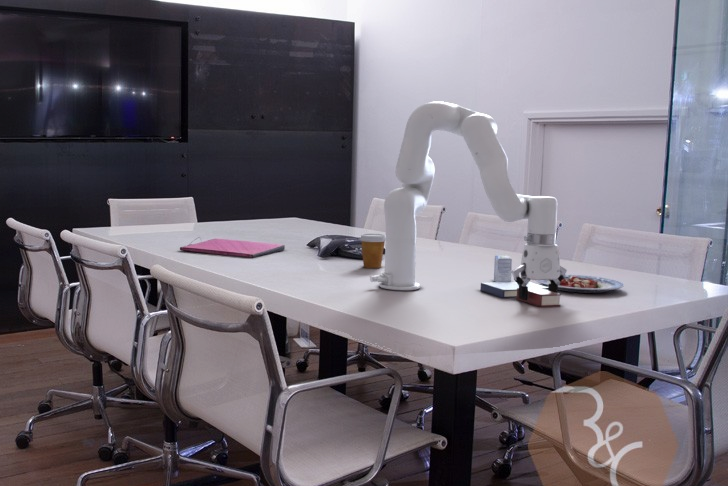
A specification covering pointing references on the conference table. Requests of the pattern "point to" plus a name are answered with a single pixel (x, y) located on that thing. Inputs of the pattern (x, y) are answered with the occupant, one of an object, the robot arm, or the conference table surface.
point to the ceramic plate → (585, 284)
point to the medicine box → (502, 268)
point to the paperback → (541, 297)
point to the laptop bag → (233, 248)
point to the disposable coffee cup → (372, 249)
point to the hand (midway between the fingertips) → (537, 298)
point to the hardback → (505, 288)
